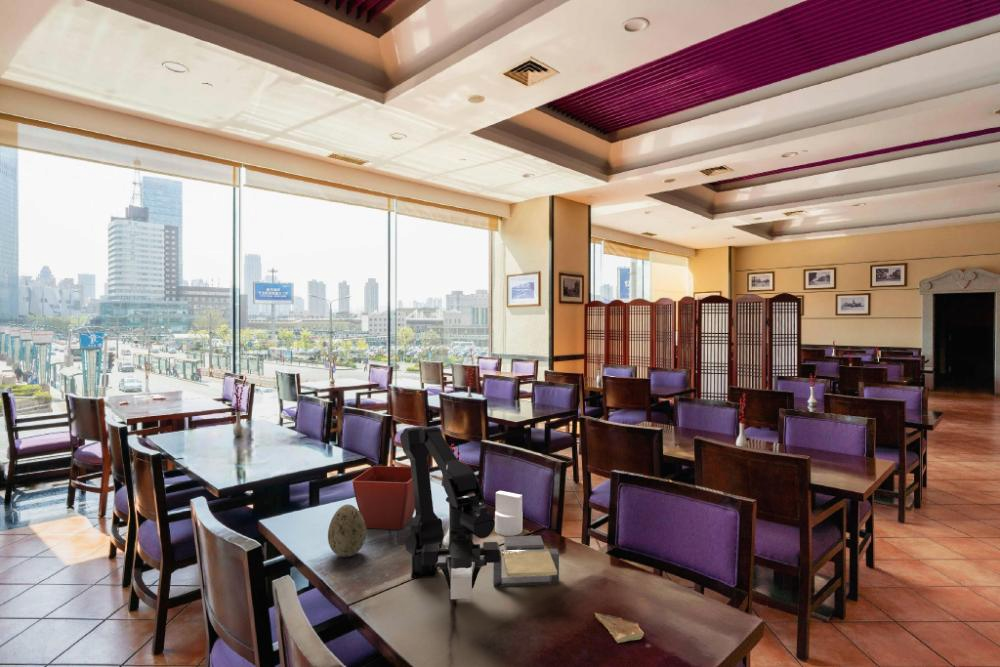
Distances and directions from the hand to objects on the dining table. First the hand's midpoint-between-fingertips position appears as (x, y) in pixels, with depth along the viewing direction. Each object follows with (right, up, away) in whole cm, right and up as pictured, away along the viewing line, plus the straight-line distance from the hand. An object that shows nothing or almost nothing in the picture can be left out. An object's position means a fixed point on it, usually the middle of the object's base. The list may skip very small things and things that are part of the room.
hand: (461, 587), depth 126 cm
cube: (0, -1, 0) cm, 1 cm away
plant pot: (-28, -3, +52) cm, 59 cm away
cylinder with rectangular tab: (+12, -3, +45) cm, 47 cm away
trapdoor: (+16, +3, +8) cm, 18 cm away
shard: (+35, -5, -11) cm, 37 cm away
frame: (+16, -4, +10) cm, 20 cm away
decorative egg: (-35, -4, +26) cm, 44 cm away
